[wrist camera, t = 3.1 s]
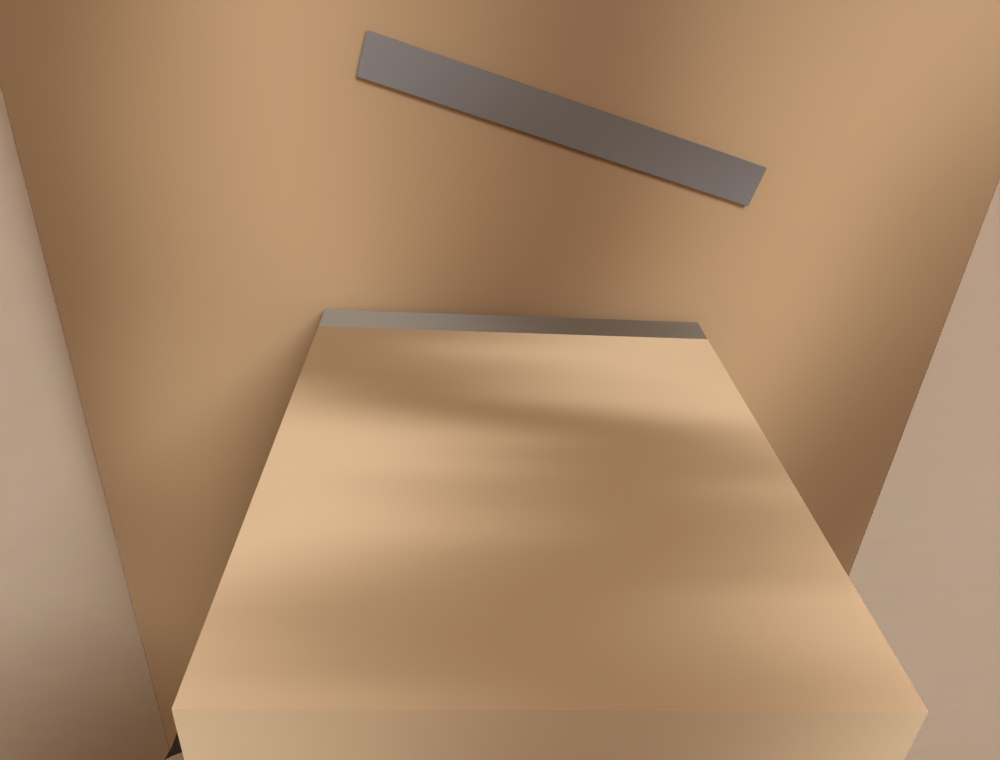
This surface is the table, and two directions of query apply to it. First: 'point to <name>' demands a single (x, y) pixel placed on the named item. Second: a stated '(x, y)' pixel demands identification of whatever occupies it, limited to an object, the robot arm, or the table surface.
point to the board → (487, 217)
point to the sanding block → (532, 563)
